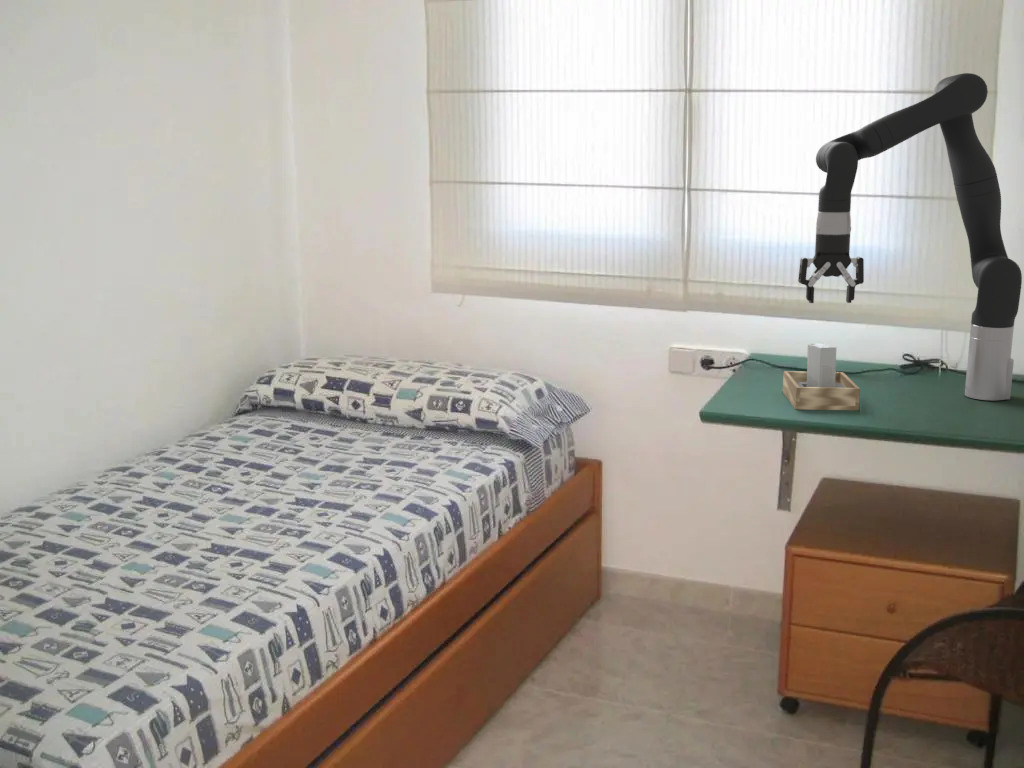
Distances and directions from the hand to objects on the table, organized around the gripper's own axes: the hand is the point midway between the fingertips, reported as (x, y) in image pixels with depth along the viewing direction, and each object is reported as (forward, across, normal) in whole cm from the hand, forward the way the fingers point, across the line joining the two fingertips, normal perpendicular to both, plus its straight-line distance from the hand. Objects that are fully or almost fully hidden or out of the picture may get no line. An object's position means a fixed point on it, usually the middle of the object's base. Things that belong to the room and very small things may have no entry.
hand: (829, 302), depth 257 cm
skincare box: (+22, +2, +2) cm, 22 cm away
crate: (+23, +2, +2) cm, 23 cm away
